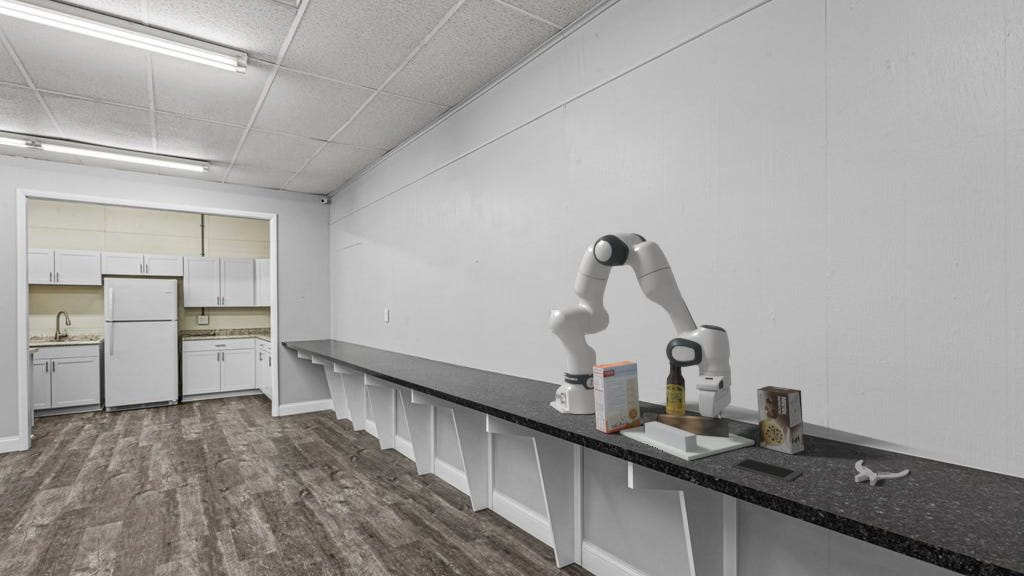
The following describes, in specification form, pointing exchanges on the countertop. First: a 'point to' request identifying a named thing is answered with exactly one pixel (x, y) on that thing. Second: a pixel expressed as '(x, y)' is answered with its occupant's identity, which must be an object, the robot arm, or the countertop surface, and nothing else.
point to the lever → (691, 423)
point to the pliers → (873, 477)
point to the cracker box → (616, 396)
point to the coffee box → (780, 419)
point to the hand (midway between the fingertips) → (717, 425)
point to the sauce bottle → (675, 391)
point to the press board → (701, 440)
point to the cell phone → (767, 469)
